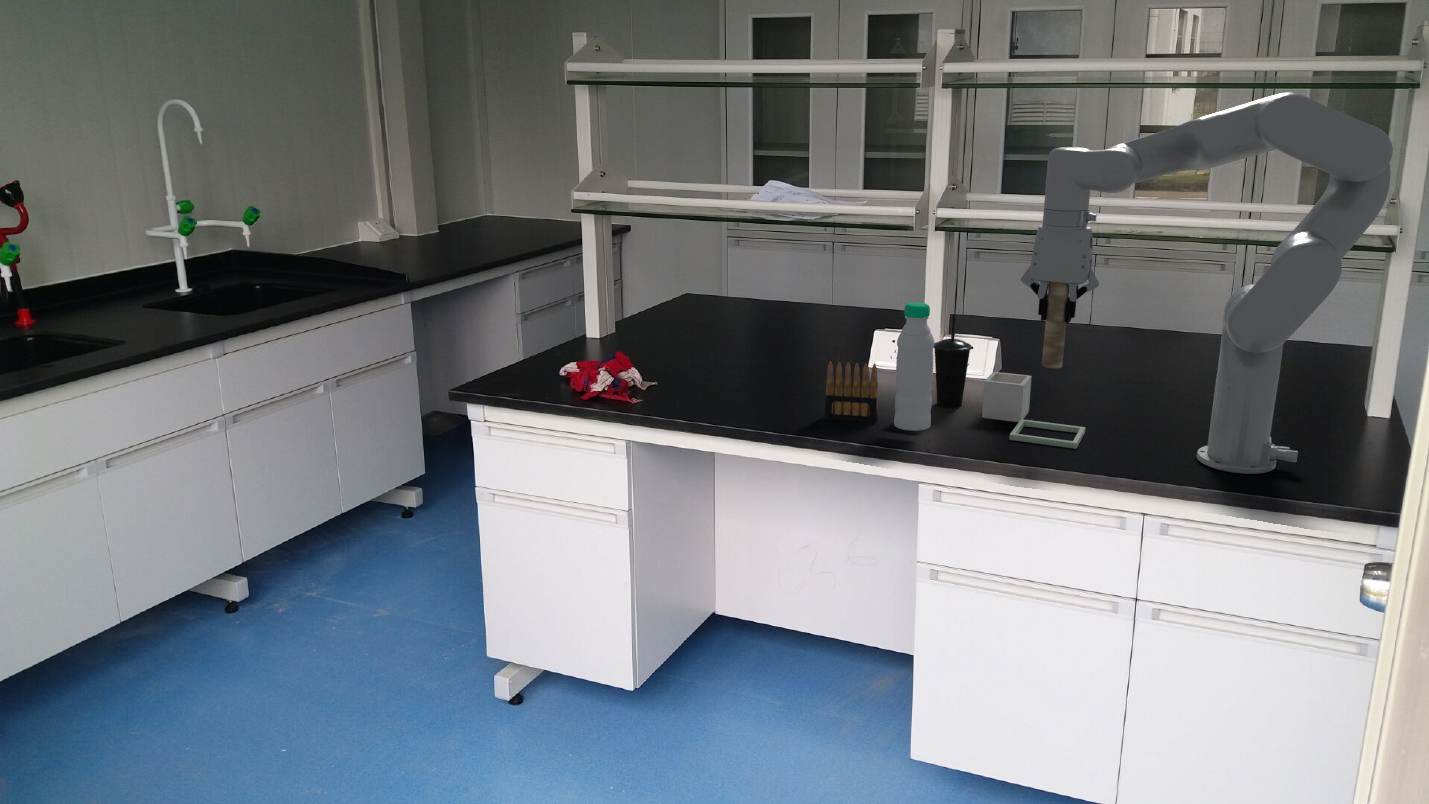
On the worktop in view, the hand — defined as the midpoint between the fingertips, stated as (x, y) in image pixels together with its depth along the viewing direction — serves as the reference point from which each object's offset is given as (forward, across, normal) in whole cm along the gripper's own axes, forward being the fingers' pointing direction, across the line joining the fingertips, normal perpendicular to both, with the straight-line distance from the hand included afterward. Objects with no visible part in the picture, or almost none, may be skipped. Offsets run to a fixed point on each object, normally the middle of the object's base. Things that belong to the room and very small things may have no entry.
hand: (1056, 319), depth 191 cm
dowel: (+9, 0, 0) cm, 9 cm away
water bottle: (+24, +25, +4) cm, 34 cm away
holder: (+23, +10, -10) cm, 27 cm away
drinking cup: (+24, +22, -12) cm, 34 cm away
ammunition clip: (+24, +38, +3) cm, 45 cm away
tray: (+23, 0, 0) cm, 23 cm away
